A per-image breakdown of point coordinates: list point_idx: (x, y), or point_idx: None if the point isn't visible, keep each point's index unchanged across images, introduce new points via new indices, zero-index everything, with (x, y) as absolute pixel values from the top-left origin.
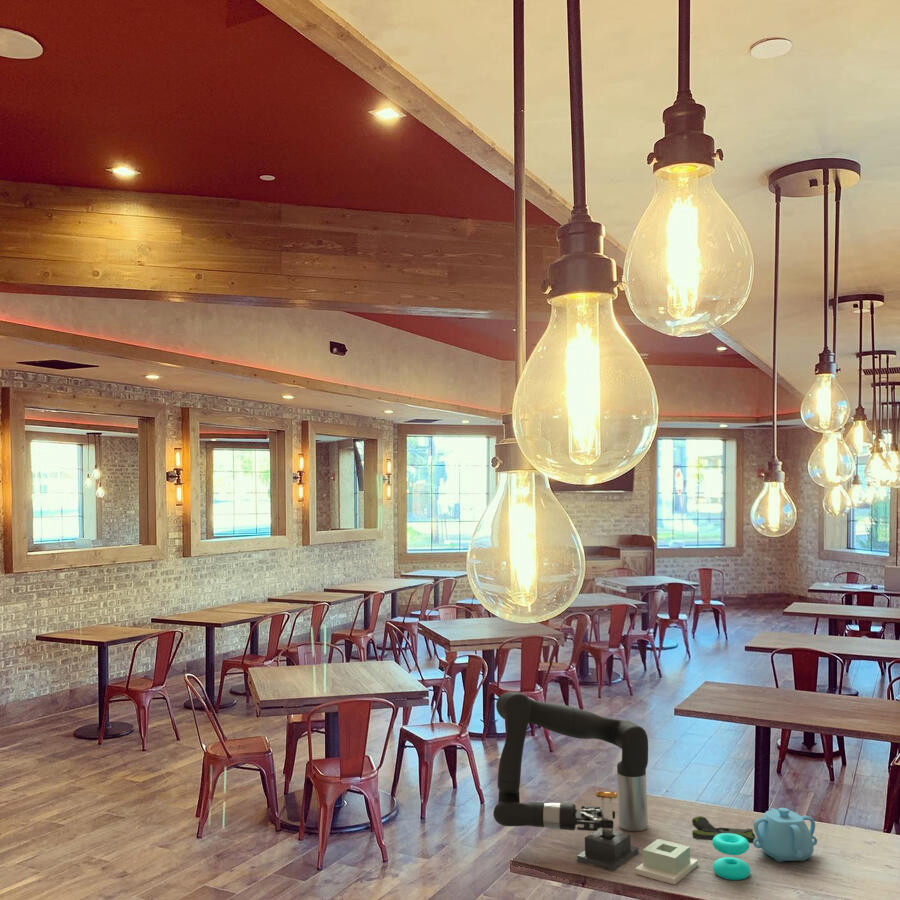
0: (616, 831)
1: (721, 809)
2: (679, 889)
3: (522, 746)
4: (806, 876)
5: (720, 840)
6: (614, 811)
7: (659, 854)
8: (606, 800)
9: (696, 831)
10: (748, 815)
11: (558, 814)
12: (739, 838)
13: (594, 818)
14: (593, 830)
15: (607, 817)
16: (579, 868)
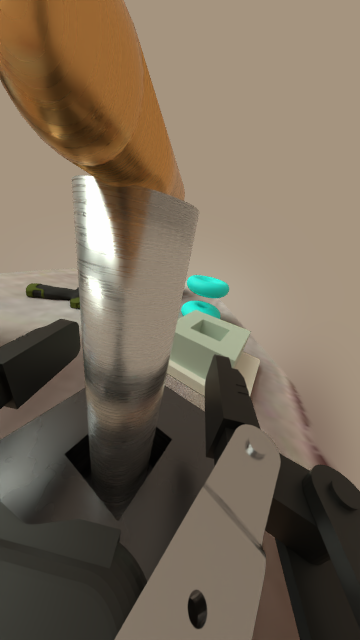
0: (78, 394)
1: (8, 274)
2: (269, 365)
3: None
4: (193, 294)
5: (220, 284)
6: (65, 320)
7: (244, 343)
8: (195, 230)
9: (75, 300)
10: (49, 273)
11: None
12: (204, 277)
13: (228, 494)
14: (329, 573)
15: (168, 364)
16: None
